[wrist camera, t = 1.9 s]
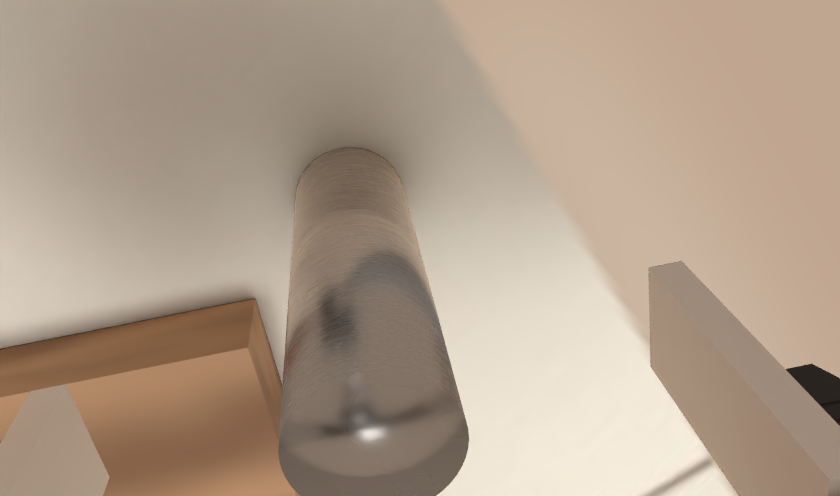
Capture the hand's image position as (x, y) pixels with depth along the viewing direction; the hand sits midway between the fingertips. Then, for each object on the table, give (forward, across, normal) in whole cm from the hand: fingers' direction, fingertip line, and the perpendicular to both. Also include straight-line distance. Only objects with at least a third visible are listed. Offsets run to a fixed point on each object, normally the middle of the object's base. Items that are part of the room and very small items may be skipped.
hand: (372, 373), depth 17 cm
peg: (+9, 0, 0) cm, 9 cm away
